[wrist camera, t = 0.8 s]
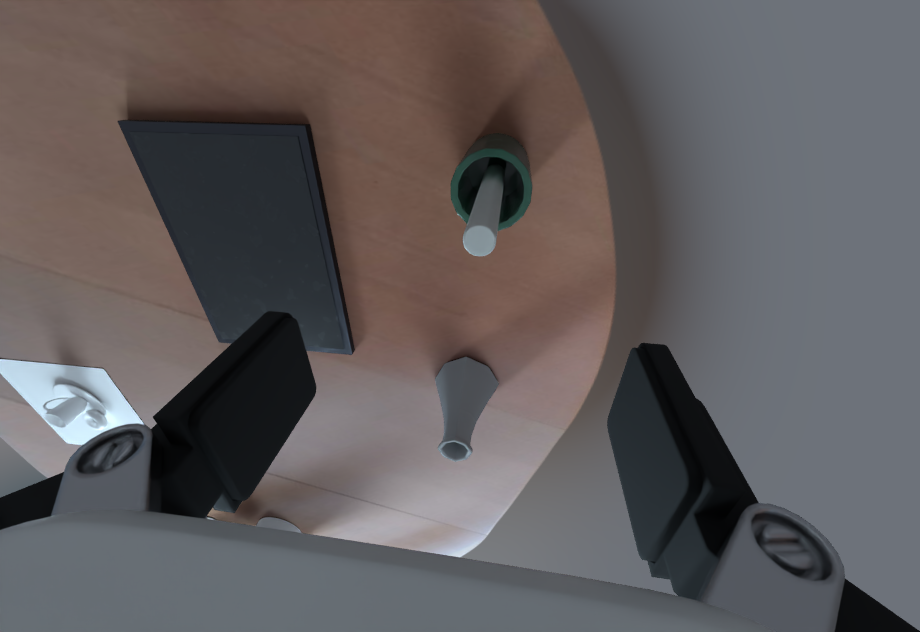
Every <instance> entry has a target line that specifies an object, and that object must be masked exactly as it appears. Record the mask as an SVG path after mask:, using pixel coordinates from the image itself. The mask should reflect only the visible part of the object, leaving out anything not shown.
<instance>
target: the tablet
mask: <svg viewBox="0 0 920 632" xmlns="http://www.w3.org/2000/svg"><path fill="white" fill-rule="evenodd" d="M118 123H119V125H120V128H121V130H122V132H123V134H124V136H125V138H126V141H127V143H128V145H129V147H130V149H131V152H132V154H133V156H134V158H135V160H136V162H137V165H138V167H139V169H140V171H141V173H142V176H143V178H144V180H145V182H146V184H147V186H148V189H149V191H150V193H151V195H152V197H153V200H154V202H155V204H156V206H157V208H158V210H159V213H160V215H161V217H162V219H163V221H164V224H165V226H166V228H167V230H168V232H169V234H170V237H171V239H172V241H173V243H174V245H175V247H176V250H177V252H178V254H179V256H180V258H181V261H182V263H183V265H184V267H185V269H186V271H187V274H188V276H189V278H190V280H191V282H192V285H193V287H194V289H195V291H196V293H197V295H198V298H199V300H200V302H201V304H202V306H203V309H204V311H205V313H206V315H207V317H208V319H209V322H210V324H211V326H212V328H213V330H214V333H215V335H216V337H217V339H218V341H219V342H222V343H233V342H234V341H235V340H236V339H237V338H239V337H240V336H241V335H242V334H243V333H244V332H245V331H246V330H247V329H248V328H249V327H250V326H252V325H253V324H254V323H255V322H256V321H257V320H258V319H259V318H260V317H261V316H262V315H263V314H264V313H266V312H267V311H276V312H287V313H290V314H291V315H292V317H293V318H295V319H296V320H297V321H298V324H299V328H300V331H301V335H302V338H303V342H304V345H305V348H306V351H317V352H327V353H338V354H349V355H352V354H353V352H354V351H355V349H354V344H353V339H352V334H351V329H350V323H349V318H348V313H347V308H346V303H345V298H344V293H343V288H342V283H341V278H340V273H339V268H338V263H337V258H336V253H335V248H334V243H333V238H332V233H331V228H330V223H329V218H328V213H327V208H326V203H325V198H324V193H323V188H322V182H321V177H320V172H319V167H318V162H317V157H316V152H315V147H314V142H313V137H312V132H311V127H310V124H277V123H237V122H196V121H156V120H120V121H118Z"/></svg>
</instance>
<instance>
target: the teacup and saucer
mask: <svg viewBox="0 0 920 632" xmlns="http://www.w3.org/2000/svg"><path fill="white" fill-rule="evenodd" d="M51 392H52V395H53V397H54V398H53V399H50V400H47V401H46V402H45V403H44V404H43V405H42V408H43V410H44V411H46V412H45V413H44V414H43V418H44V419H45V421H46V422H47V423H48V424H51V425H53V426H55V427H57V428H61V429H64V428H66V427H67V426H69V425H70V424H71V423H72V422H73V421H74V420H76V419H77V418H78V417H81V418H82V420H83V421H84V423H85V424H86V425H87V426H88V427H89V428H91V429H93V430H95V431H102V430H104V429H105V428H106V427H107V426H108V424H109V421H108V419H107V410H106V408H105V406H104V405H103V404H102V403H101V402H100V401H99V400H98V399H97V398H96V397H95V396H94V395H92V394H91V393H89V392H88V391H86V390H84V389H82V388H80V387H78V386H75V385H72V384H69V383H56V384H55V385H53V386H52V388H51ZM55 401H57V402H58V403H59V404H57V405H56V406H54V407H52V408H48V407H47V405H48V404H49V403H51V402H55Z"/></svg>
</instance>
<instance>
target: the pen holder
mask: <svg viewBox="0 0 920 632" xmlns="http://www.w3.org/2000/svg"><path fill="white" fill-rule="evenodd" d="M492 164H499V165H500V166H501V167H502V168H503V169H504V171H505V179H504V186H503V194H502V201H501V209H500V216H499V224H498V231H499V230H502V229H505V228H508V227H510V226H512V225H513V224H514V223H516V222H517V221H518V220H519V219H520V218H522V216H523V215H524V213H525V211H526V210H527V208H528V206H529V204H530V202H531V194H532V179H531V171H530V163H529V160H528V156H527V153H526V151H525V149H524V148H523V146H522V145H521V144H520V143H519V142H518V141H517V140H516V139H515V138H513V137H511V136H509V135H506V134H501V133H493V134H489V135H486V136H483V137H481V138H480V139H478V140H477V141H476V142H475V143H474V144H473V145H472V146H471V147H470V148H469V149H468V151H467V152H466V154H465V155H464V157H463V158H462V160H461V162H460V163H459V165H458V166H457V168H456V170H455V173H454V175H453V178H452V180H451V200H452V203H453V205H454V208H455V210H456V212H457V214H458V215H459V216H460V217H461V218H462V219H463V220H464V221H465V222H466V223H468V220H469V217H470V214H471V212H472V209H473V206H474V203H475V200H476V197H477V194H478V191H479V188H480V185H481V182H482V179H483V176H484V173H485V170H486V169H487V167H488V166H490V165H492Z"/></svg>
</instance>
